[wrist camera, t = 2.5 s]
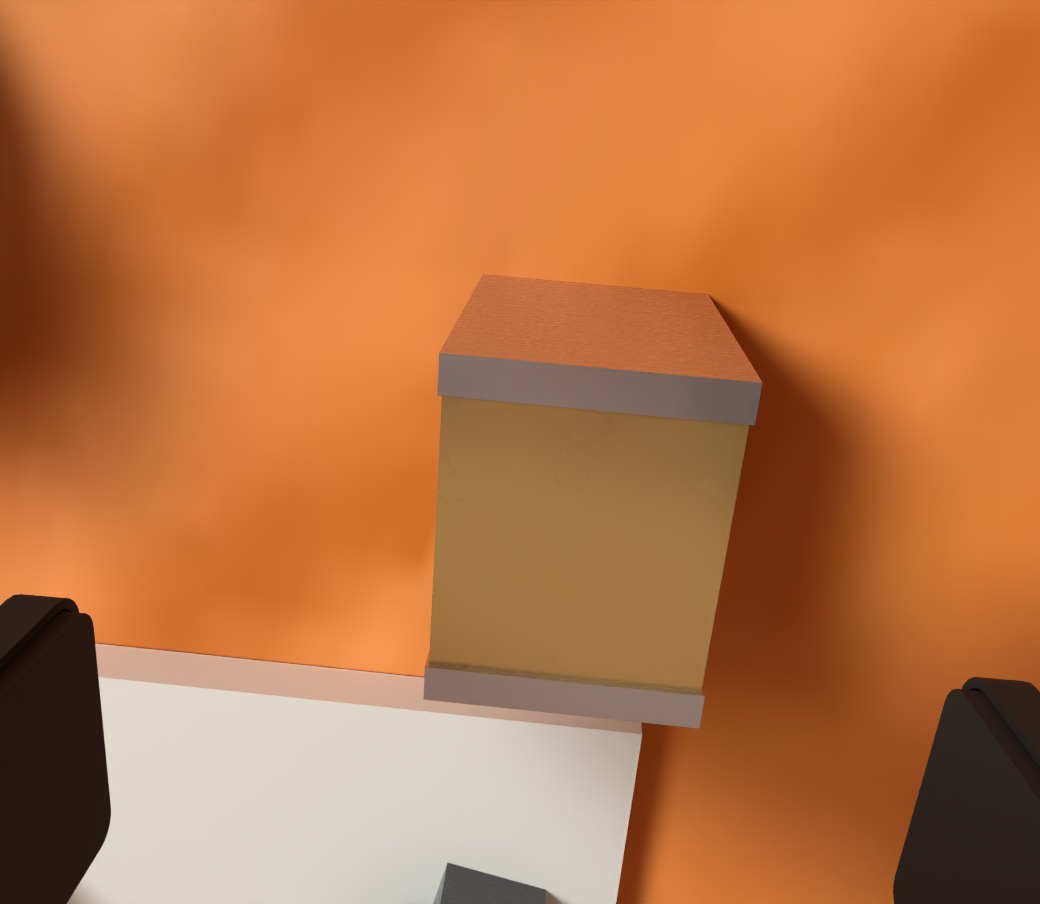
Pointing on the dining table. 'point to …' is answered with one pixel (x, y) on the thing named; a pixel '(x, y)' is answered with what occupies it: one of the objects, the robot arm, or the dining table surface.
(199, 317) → the dining table surface
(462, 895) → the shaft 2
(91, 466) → the dining table surface
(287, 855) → the board
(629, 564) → the tan box
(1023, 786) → the robot arm
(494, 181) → the dining table surface
